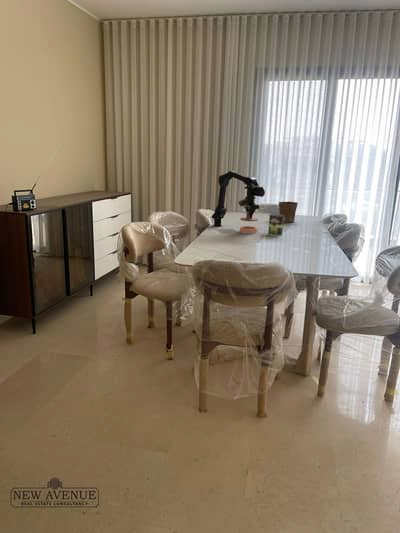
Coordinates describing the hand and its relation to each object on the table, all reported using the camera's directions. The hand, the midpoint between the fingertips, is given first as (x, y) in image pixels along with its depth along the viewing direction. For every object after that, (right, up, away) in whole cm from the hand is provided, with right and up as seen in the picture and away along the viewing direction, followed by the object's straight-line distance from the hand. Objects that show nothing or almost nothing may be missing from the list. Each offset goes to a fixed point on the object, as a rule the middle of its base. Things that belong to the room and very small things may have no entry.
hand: (249, 217), depth 282 cm
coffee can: (+19, -13, -2) cm, 23 cm away
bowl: (0, -11, +3) cm, 11 cm away
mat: (-16, -10, +5) cm, 19 cm away
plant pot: (+38, +2, +49) cm, 62 cm away
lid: (0, -2, +1) cm, 2 cm away
